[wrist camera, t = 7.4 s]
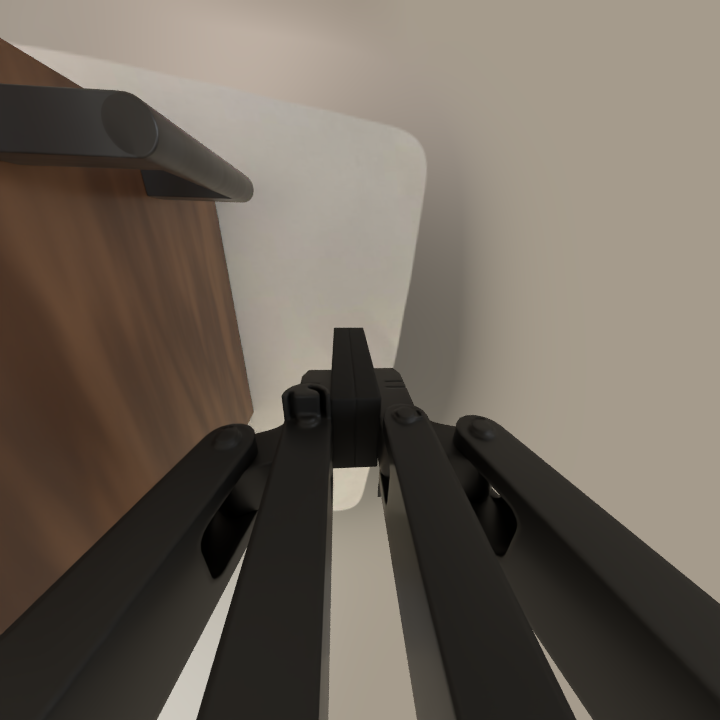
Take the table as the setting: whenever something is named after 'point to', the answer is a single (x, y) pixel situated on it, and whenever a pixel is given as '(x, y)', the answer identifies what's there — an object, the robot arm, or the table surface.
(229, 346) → the door
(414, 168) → the table surface
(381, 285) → the table surface
